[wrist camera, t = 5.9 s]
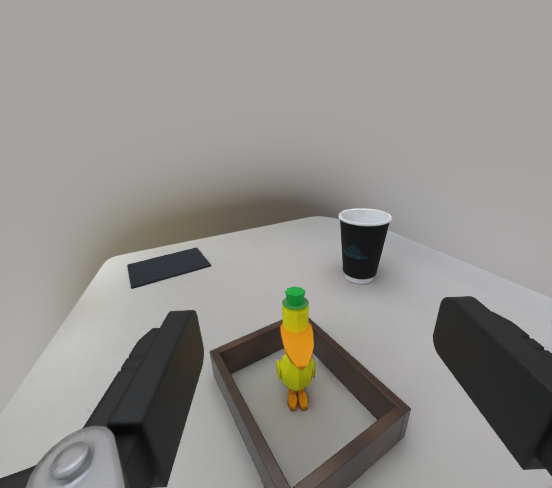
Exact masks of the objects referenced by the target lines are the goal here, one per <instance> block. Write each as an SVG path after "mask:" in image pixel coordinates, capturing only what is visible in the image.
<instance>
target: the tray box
mask: <svg viewBox="0 0 552 488" xmlns="http://www.w3.org/2000/svg"><path fill="white" fill-rule="evenodd" d="M308 323H310V324H311V326H312V330H313V339H314V348H313V353H314V354H315V355H316V356H317V357H318V358H319V359H320V360H321V361H322V362H323V363H324V364H325V365H326V366H327V367H328V368H329V369H330V370H331V372H332V373H333V374H334V375H335V376H336V377H337V378H338V379H339V380H340V381H341V382H342V383H343V384H344V385H345V386H346V387H347V388H348V389H349V390H350V391H351V392H352V393H353V394H354V395H355V396H356V398H357V399H358V400H359V401H360V402H361V403H362V404H363V405H364V406H365V407H366V408H367V409H368V410H369V411H370V412H371V413H372V414H373V415H374V416H375V417H376V418H377V419H378V421H376V422H375V423H374V424H373V425H371V426H370V427H369V428H368V429H366V430H365V431H364V432H362V433H361V434H360V435H359V436H357V437H356V438H355V439H354V440H352V441H351V442H350V443H349V444H347V445H346V446H345V447H344V448H342V449H341V450H340V451H339V452H337V453H336V454H335V455H333V456H332V457H331V458H330V459H328V460H327V461H326V462H325V463H323V464H322V465H321V466H320V467H318V468H317V469H316V470H315V471H313V472H312V473H311V474H309V475H308V476H307V477H306V478H304V479H303V480H302V481H301V482H299V483H298V484H297V485H296V486H294V487H293V488H347V487H348V486H349V485H350V484H351V483H353V482H354V481H355V480H356V479H357V478H358V477H359V476H360V475H362V474H363V473H364V472H365V471H366V470H367V469H368V468H369V467H371V466H372V465H373V464H374V463H375V462H376V461H377V460H378V459H380V458H381V457H382V456H383V455H384V454H385V453H386V452H387V451H388V450H390V449H391V448H392V447H393V446H394V445H395V444H396V443H397V442H398V441H400V440H401V439H402V438H403V437H404V435H405V431H406V427H407V423H408V419H409V414H410V410H411V408H410V407H409V406H407V405H406V404H405V403H404V402H403V401H402V400H401V399H400V398H398V397H397V396H396V395H395V394H394V393H393V392H392V391H391V390H390V389H388V388H387V387H386V386H385V385H384V384H383V383H382V382H381V381H379V380H378V379H377V378H376V377H375V376H374V375H373V374H372V373H370V372H369V371H368V370H367V369H366V368H365V367H364V366H363V365H361V364H360V363H359V362H358V361H357V360H356V359H355V358H354V357H352V356H351V355H350V354H349V353H348V352H347V351H346V350H345V349H343V348H342V347H341V346H340V345H339V344H338V343H337V342H336V341H334V340H333V339H332V338H331V337H330V336H329V335H328V334H327V333H325V332H324V331H323V330H322V329H321V328H320V327H319V326H318V325H316V324H315V323H314V322H313V321H312V320H311V319H310V318H309V317H308ZM282 324H283V319H282V320H280V321H278V322H276V323H273V324H271V325H269V326H266V327H264V328H262V329H260V330H257V331H255V332H253V333H250V334H248V335H246V336H243V337H241V338H239V339H237V340H234V341H232V342H230V343H227V344H225V345H223V346H221V347H218V348H216V349H214V350H211V351H210V357H211V362H212V368H213V373H214V377H215V379H216V381H217V383H218V385H219V388H220V390H221V392H222V394H223V396H224V399H225V401H226V403H227V405H228V407H229V410H230V412H231V414H232V416H233V418H234V421H235V423H236V425H237V427H238V429H239V431H240V434H241V436H242V438H243V440H244V442H245V445H246V447H247V449H248V451H249V453H250V456H251V458H252V460H253V462H254V464H255V467H256V469H257V471H258V473H259V475H260V477H261V480H262V482H263V484H264V486H265V488H290V486H289V484H288V482H287V480H286V479H285V477H284V475H283V473H282V471H281V469H280V467H279V465H278V463H277V461H276V460H275V458H274V456H273V454H272V452H271V450H270V448H269V446H268V444H267V443H266V441H265V439H264V437H263V435H262V433H261V431H260V429H259V427H258V425H257V424H256V422H255V420H254V418H253V416H252V414H251V412H250V410H249V408H248V407H247V405H246V403H245V401H244V399H243V397H242V395H241V393H240V391H239V389H238V388H237V386H236V384H235V382H234V380H233V378H232V376H231V373H233V372H235V371H237V370H239V369H241V368H243V367H245V366H247V365H249V364H251V363H253V362H256V361H258V360H260V359H262V358H264V357H266V356H268V355H270V354H272V353H274V352H276V351H278V350H280V349H282V348H284V345H283V341H282V337H281V328H280V326H281V325H282Z"/></svg>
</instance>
